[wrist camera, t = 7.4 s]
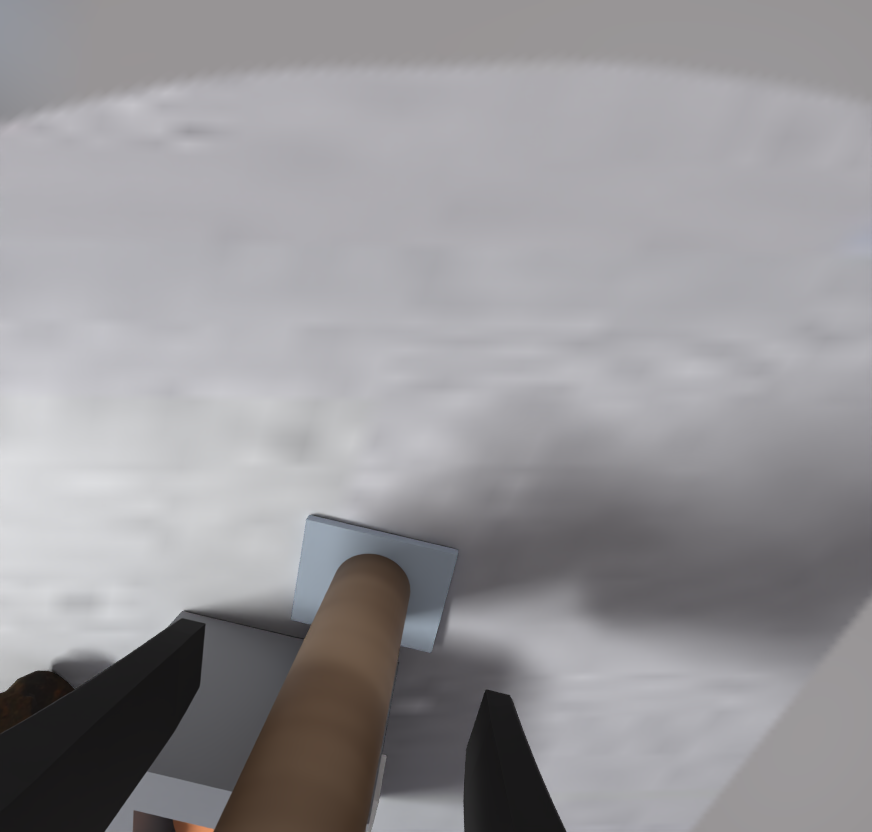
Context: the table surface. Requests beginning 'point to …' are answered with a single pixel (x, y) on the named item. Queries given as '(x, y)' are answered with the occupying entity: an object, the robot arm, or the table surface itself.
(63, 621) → the table surface
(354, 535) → the pad
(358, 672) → the wooden rod
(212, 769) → the gray hollow box
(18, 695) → the brown rough rod
